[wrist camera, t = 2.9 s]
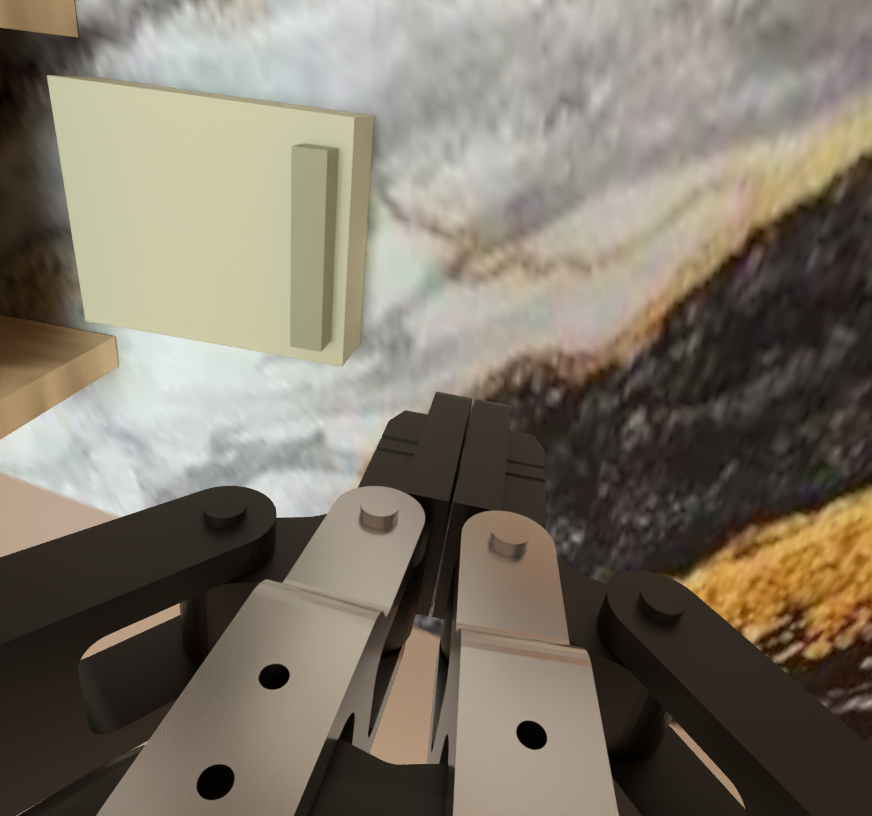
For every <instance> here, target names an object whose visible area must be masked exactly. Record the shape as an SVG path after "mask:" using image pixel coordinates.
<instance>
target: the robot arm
mask: <svg viewBox="0 0 872 816" xmlns="http://www.w3.org/2000/svg"><path fill="white" fill-rule="evenodd" d="M471 402H472V398H467V397H462V396H457V395H452V394H446V393H441V392H436V393H435V396H434V399H433V402H432V405H431V407H430V410H429V413H428V415H427V414H421V413H416V412H411V411H406V410H405V411H404V412H402V413H400V414H399V415H397V416H396V417H394V418H393V419H391V420H389V422H388V424H387V426H386V429H385V431H384V433H383V435H382V438H381V439H380V441H379V444H378V446H377V450H375V452H374V454H373V457H372V459H371V461H370V463H369V465H368V467H367V469H366V472H365V474H364V476H363V478H362V480H361V482H360V484H359V487H358V488H356V489H353V490H350V491H348V492H346V493H344V494H343V495H341V496H340V497H339V498H338V499H337V500H336V501H335V503H334V504H333V506H332V507H331V509H330V510H329V512H328V514H324V515H320V516H314V517H294V518H276V508H275V506H274V504H273V502H272V501H271V500H270V499H269V498H268V497H267V496H266V495H264V494H262V493H260V492H259V491H256V490H253V489H250V488H246V487H239V486H221V487H214V488H209V489H206V490H202V491H199V492H196V493H193V494H190V495H187V496H184V497H181V498H178V499H175V500H172V501H169V502H166V503H163V504H160V505H157V506H154V507H151V508H148V509H145V510H142V511H139V512H136V513H133V514H130V515H127V516H124V517H121V518H118V519H115V520H112V521H109V522H106V523H103V524H100V525H97V526H94V527H91V528H88V529H85V530H82V531H79V532H76V533H73V534H70V535H67V536H64V537H61V538H58V539H55V540H52V541H49V542H46V543H43V544H40V545H37V546H34V547H31V548H28V549H25V550H21V551H18V552H16V553H12V554H9V555H7V556H3V557H0V816H16V815H18V814H20V813H21V812H23V811H25V810H27V809H28V810H27V811H25V812H23V813H22V814H20V815H19V816H872V747H871V746H870V745H869V744H868V743H867V742H866V741H864V740H863V739H862V738H861V737H860V736H859V735H857V734H856V733H855V732H854V731H853V730H852V729H851V728H849V727H848V726H847V725H846V724H845V723H844V722H842V721H841V720H840V719H839V718H838V717H837V716H835V715H834V714H833V713H832V712H831V711H830V710H828V709H827V708H826V707H825V706H824V705H823V704H822V703H820V702H819V701H818V700H817V699H816V698H815V697H813V696H812V695H811V694H810V693H809V692H808V691H806V690H805V689H804V688H803V687H802V686H801V685H800V684H798V683H797V682H796V681H795V680H794V679H793V678H791V677H790V676H789V675H788V674H787V673H786V672H784V671H783V670H782V669H781V668H780V667H779V666H778V665H776V664H775V663H774V662H773V661H772V660H771V659H769V658H768V657H767V656H766V655H765V654H764V653H762V652H761V651H760V650H759V649H758V648H757V647H755V646H754V645H753V644H752V643H751V642H750V641H749V640H747V639H746V638H745V637H744V636H743V635H742V634H740V633H739V632H738V631H737V630H736V629H735V628H733V627H732V626H731V625H730V624H729V623H728V622H727V621H725V620H724V619H723V618H722V617H721V616H720V615H718V614H717V613H716V612H715V611H714V610H713V609H711V608H710V607H709V606H708V605H707V604H706V603H704V602H703V601H702V600H701V599H700V598H699V597H698V596H696V595H695V594H694V593H693V592H692V591H690V590H689V589H688V588H686V587H685V586H683V585H682V584H680V583H678V582H677V581H675V580H673V579H671V578H668V577H666V576H663V575H660V574H657V573H653V572H648V571H628V572H624V573H621V574H619V575H617V576H616V577H614V578H613V579H612V580H611V582H610V583H609V586H608V585H606V584H603V583H601V582H599V581H597V580H594V579H592V578H590V577H588V576H586V575H584V574H582V573H580V572H578V571H576V570H574V569H573V568H571V567H570V566H568V565H567V564H566V563H565V562H563V561H562V560H561V559H560V558H559V557H558V556H557V555H556V549H555V545H554V541H553V540H552V538H551V536H550V535H549V533H548V532H547V531H546V500H545V470H544V469H545V451H544V449H543V448H542V446H541V445H540V443H539V442H538V440H537V439H536V438H535V436H534V435H531V434H526V433H521V432H516V431H510V430H509V428H510V417H511V406H510V405H505V404H500V403H494V402H489V401H484V400H479V399H475V403H474V408H473V412H472V417H471V422H470V426H469V431H468V436H467V441H466V445H465V450H464V455H463V460H462V464H461V469H460V474H459V478H458V473H459V468H460V463H461V457H462V452H463V446H464V441H465V435H466V430H467V424H468V419H469V414H470V408H471ZM457 478H458V483H457ZM456 483H457V488H456ZM455 489H456V493H455ZM454 493H455V497H454ZM453 498H454V502H453ZM452 503H453V508H452ZM451 508H452V513H451V518H450V524H449V529H448V535H447V540H446V546H445V551H444V556H443V562H442V567H441V573H440V578H439V584H438V589H437V594H436V600H435V605H434V611H433V616H432V617H436V618H441V619H444V622H443V628H442V633H441V639H440V644H439V650H438V655H437V660H436V667H435V679H434V689H433V701H432V712H431V723H430V734H429V746H428V757H427V764H411V765H395V764H390V763H387V762H385V761H382V760H380V759H378V758H376V757H375V756H373V755H371V754H369V753H370V750H371V747H372V744H373V742H374V739H375V736H376V733H377V730H378V727H379V724H380V721H381V718H382V715H383V712H384V709H385V706H386V704H387V701H388V698H389V695H390V692H391V689H392V686H393V683H394V680H395V677H396V674H397V672H398V669H399V665H400V663H401V660H402V657H403V653H404V649H405V643H406V640H407V639H408V637H409V636H410V633H411V630H412V626H413V622H414V618H415V614H421V615H426V616H428V615H429V611H430V606H431V601H432V597H433V592H434V587H435V582H436V578H437V573H438V568H439V564H440V559H441V554H442V550H443V545H444V540H445V536H446V531H447V526H448V522H449V517H450V512H451ZM178 603H180V613H181V615H179V616H177V617H175V618H173V619H170V620H168V621H166V622H164V623H162V624H160V625H157V626H155V627H153V628H151V629H149V630H146V631H144V632H142V633H140V634H138V635H135V636H133V637H131V638H129V639H127V640H125V641H123V642H120V643H118V644H116V645H114V646H112V647H109V648H107V649H105V650H103V651H101V652H98V653H96V654H94V655H92V656H90V657H87V658H85V659H82V660H80V659H81V657H82V656H83V654H84V653H85V652H86V651H87V649H88V648H89V647H90V646H92V645H93V644H94V643H95V642H96V641H98V640H99V639H101V638H103V637H105V636H107V635H109V634H111V633H113V632H115V631H118V630H120V629H122V628H124V627H127V626H129V625H131V624H133V623H136V622H138V621H140V620H142V619H145V618H147V617H149V616H151V615H154V614H156V613H158V612H160V611H163V610H165V609H167V608H169V607H171V606H174V605H176V604H178ZM672 717H673V718H674V720H675V721H676V722H677V723H678V724H679V725H680V726H681V727H682V728H683V729H684V730H685V732H686V733H687V734H688V735H689V736H690V737H691V738H692V739H693V740H694V741H695V742H696V743H697V745H699V746H700V748H701V749H702V750H703V751H704V752H705V753H706V754H707V755H708V756H709V758H710V759H711V760H712V761H713V762H714V763H715V764H716V765H717V766H718V767H719V768H720V769H721V771H722V772H723V773H724V774H725V775H726V776H727V777H728V778H729V779H730V781H731V782H732V783H733V784H734V786H735V787H736V789H737V790H738V792H739V794H740V796H741V798H742V800H743V802H744V806H745V809H746V810H745V809H744V807H743V806H742V805H741V804H740V803H739V802H738V801H737V800H736V799H735V798H734V796H733V795H732V794H731V793H730V792H729V791H728V790H727V789H726V788H725V786H724V785H723V784H722V783H721V782H720V781H719V780H718V779H717V778H716V777H715V775H714V774H713V773H712V772H711V771H710V770H709V769H708V768H707V767H706V766H705V764H704V763H703V762H702V761H701V760H700V759H699V758H698V757H697V756H696V754H695V753H694V752H693V751H692V750H691V749H690V748H689V747H688V746H687V745H686V743H685V742H684V741H683V740H682V739H681V738H680V737H679V736H678V735H677V734H676V732H675V731H674V730H673V729H672V728H671V727H670V726H669V724H670V721H671V719H672ZM148 740H149V741H148ZM146 741H148V742H147V744H146V745H143V746H141V747H138V748H135V747H137V746H139V745H141V744H142V743H144V742H146ZM134 748H135V749H134ZM132 749H133V750H132ZM130 750H131V751H130ZM128 751H129V752H128ZM46 798H47V799H46ZM44 799H45V800H44ZM41 801H42V802H41ZM39 802H40V803H39ZM37 803H38V804H37ZM36 804H37V805H36ZM34 805H35V806H34ZM32 806H33V807H32ZM30 807H32V808H30ZM29 808H30V809H29Z"/></svg>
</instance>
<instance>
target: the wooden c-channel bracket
mask: <svg viewBox="0 0 872 816" xmlns="http://www.w3.org/2000/svg"><path fill="white" fill-rule="evenodd" d="M0 28H7V29H15V30H23V31H31V32H39V33H46V34H54V35H62V36H70V37H78V29H77V20H76V12H75V4H74V0H0ZM78 38H79V37H78ZM118 366H119V365H118V357H117V349H116V340H115V337H114V336H109V335H104V334H99V333H93V332H88V331H83V330H78V329H73V328H67V327H62V326H57V325H52V324H46V323H41V322H36V321H31V320H26V319H20V318H15V317H10V316H5V315H0V439H2V438H4V437H5V436H7V435H8V434H10V433H12V432H13V431H15V430H16V429H18V428H20V427H21V426H23V425H25V424H26V423H28V422H29V421H31V420H33V419H34V418H36V417H37V416H39V415H41V414H42V413H44V412H45V411H47V410H49V409H50V408H52V407H53V406H55V405H57V404H58V403H60V402H62V401H63V400H65V399H66V398H68V397H70V396H71V395H73V394H74V393H76V392H78V391H79V390H81V389H82V388H84V387H86V386H87V385H89V384H90V383H92V382H94V381H95V380H97V379H99V378H100V377H102V376H103V375H105V374H107V373H108V372H110V371H111V370H113V369H115V368H116V367H118Z"/></svg>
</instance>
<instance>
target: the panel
mask: <svg viewBox="0 0 872 816" xmlns="http://www.w3.org/2000/svg"><path fill="white" fill-rule="evenodd" d="M47 80H48V86H49V92H50V99H51V105H52V111H53V118H54V124H55V131H56V137H57V143H58V150H59V156H60V162H61V169H62V175H63V182H64V188H65V194H66V201H67V207H68V213H69V220H70V226H71V232H72V239H73V245H74V252H75V258H76V264H77V271H78V277H79V283H80V290H81V296H82V303H83V309H84V315H85V321H89V322H95V323H100V324H106V325H112V326H117V327H123V328H129V329H134V330H140V331H146V332H151V333H157V334H162V335H168V336H174V337H179V338H185V339H191V340H196V341H202V342H208V343H213V344H219V345H225V346H230V347H236V348H242V349H247V350H253V351H259V352H264V353H270V354H275V355H281V356H287V357H292V358H298V359H304V360H309V361H315V362H321V363H326V364H332V365H338V366H343V365H344V364H345V362H346V361H347V360H348V358H349V357H350V356H351V354H352V353H353V352H354V351H355V349H356V348H357V347H358V345H359V344H360V336H361V320H362V304H363V288H364V272H365V256H366V240H367V225H368V209H369V193H370V177H371V161H372V145H373V129H374V116H373V115H366V114H358V113H351V112H344V111H337V110H329V109H322V108H315V107H307V106H300V105H293V104H286V103H278V102H271V101H264V100H257V99H249V98H242V97H235V96H227V95H220V94H213V93H206V92H198V91H191V90H184V89H176V88H169V87H162V86H155V85H147V84H140V83H133V82H126V81H118V80H111V79H104V78H96V77H77V76H54V75H47Z"/></svg>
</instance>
